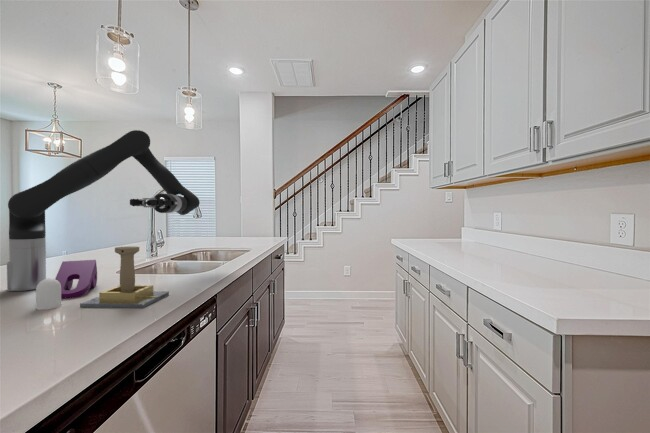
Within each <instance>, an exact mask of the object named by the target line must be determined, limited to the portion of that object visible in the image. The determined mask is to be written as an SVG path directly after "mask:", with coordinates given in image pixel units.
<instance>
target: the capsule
mask: <svg viewBox="0 0 650 433" xmlns="http://www.w3.org/2000/svg"><path fill="white" fill-rule="evenodd" d="M35 304H36V305H35V307H36V310H38V311H39V310H40V311H43V310H51V309H55V308H59V307H61V306H62V299H61V284H60V282H59V281H58V280H56V279H55V278H46V279H44V280H42V281H41V282H40V283H39V284H38V285H37V288H36V289H35Z"/></svg>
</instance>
